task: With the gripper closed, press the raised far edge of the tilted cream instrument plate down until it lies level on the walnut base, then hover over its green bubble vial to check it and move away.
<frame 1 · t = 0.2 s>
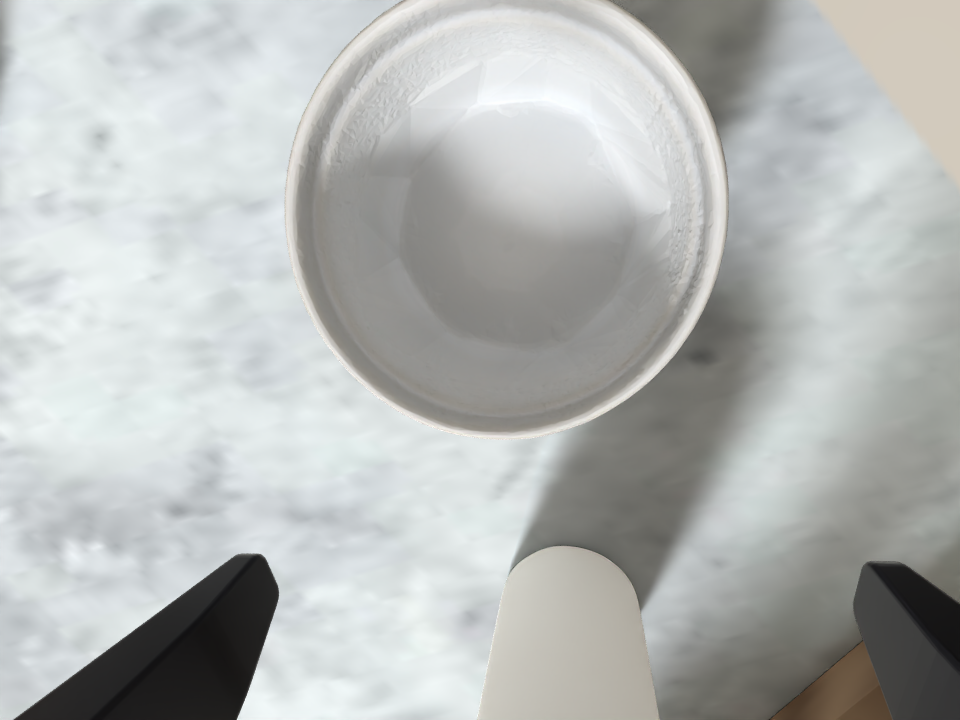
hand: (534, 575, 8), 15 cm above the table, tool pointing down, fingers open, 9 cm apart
can: (569, 597, 26), on the table
ramekin: (515, 229, 22), on the table
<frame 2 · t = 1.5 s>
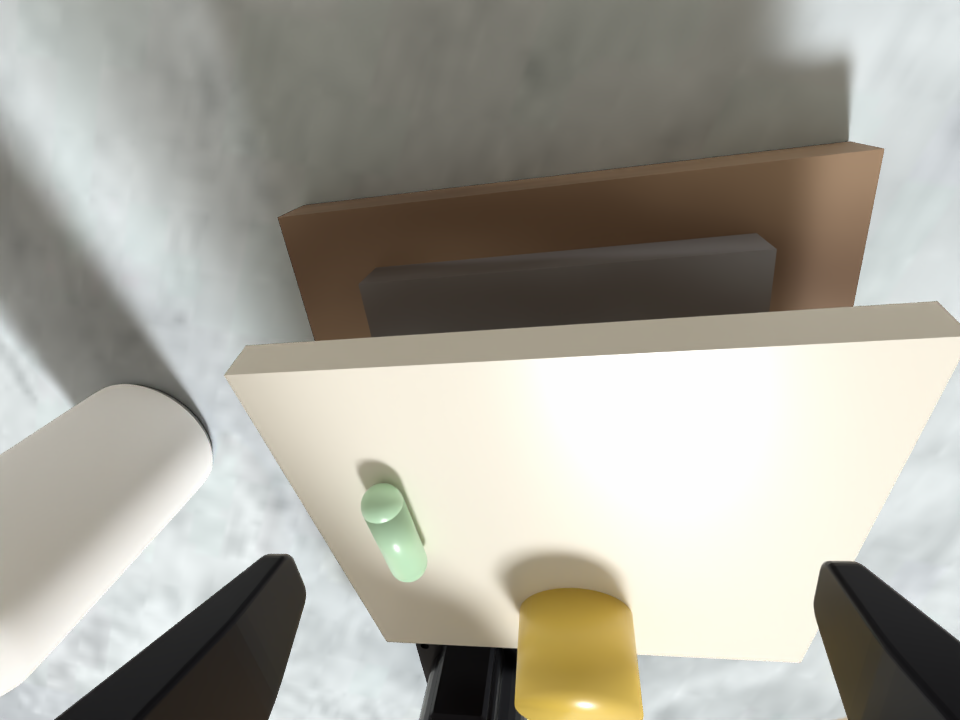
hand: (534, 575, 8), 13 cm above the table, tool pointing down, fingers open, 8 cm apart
can: (158, 433, 26), on the table
walnut base: (566, 404, 22), on the table
instrument plate: (568, 574, 15), point 8 cm above the table, hinge at -12.0°
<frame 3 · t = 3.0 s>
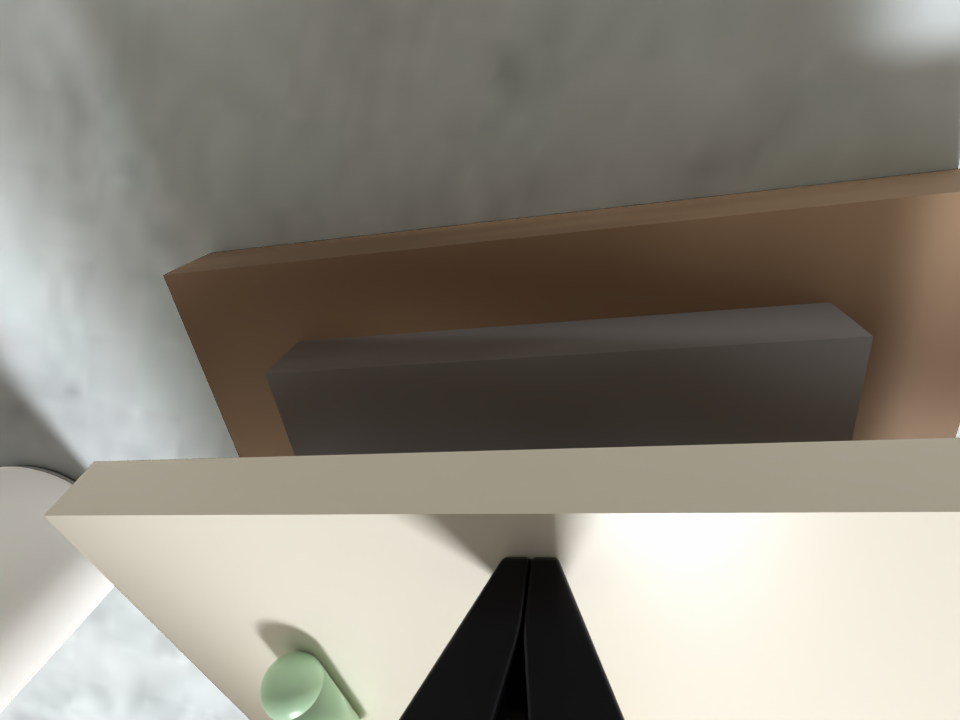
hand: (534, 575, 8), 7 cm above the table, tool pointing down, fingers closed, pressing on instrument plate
can: (64, 520, 21), on the table
walnut base: (562, 500, 17), on the table
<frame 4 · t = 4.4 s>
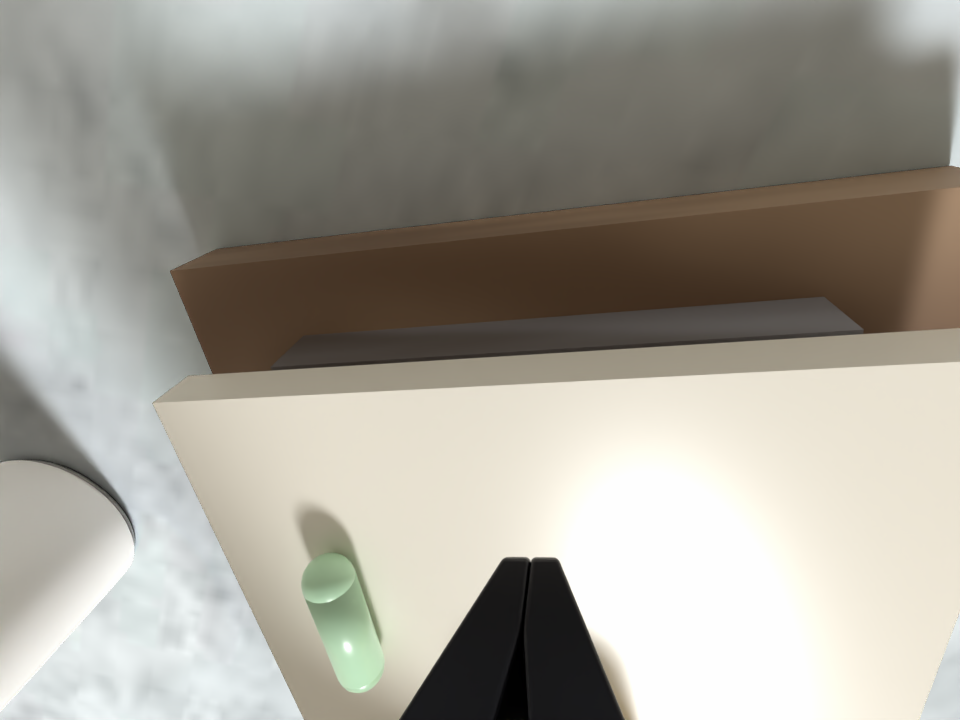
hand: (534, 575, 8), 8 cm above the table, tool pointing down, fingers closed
can: (70, 513, 22), on the table
walnut base: (561, 492, 17), on the table
instrument plate: (560, 688, 12), point 6 cm above the table, hinge at 0.4°
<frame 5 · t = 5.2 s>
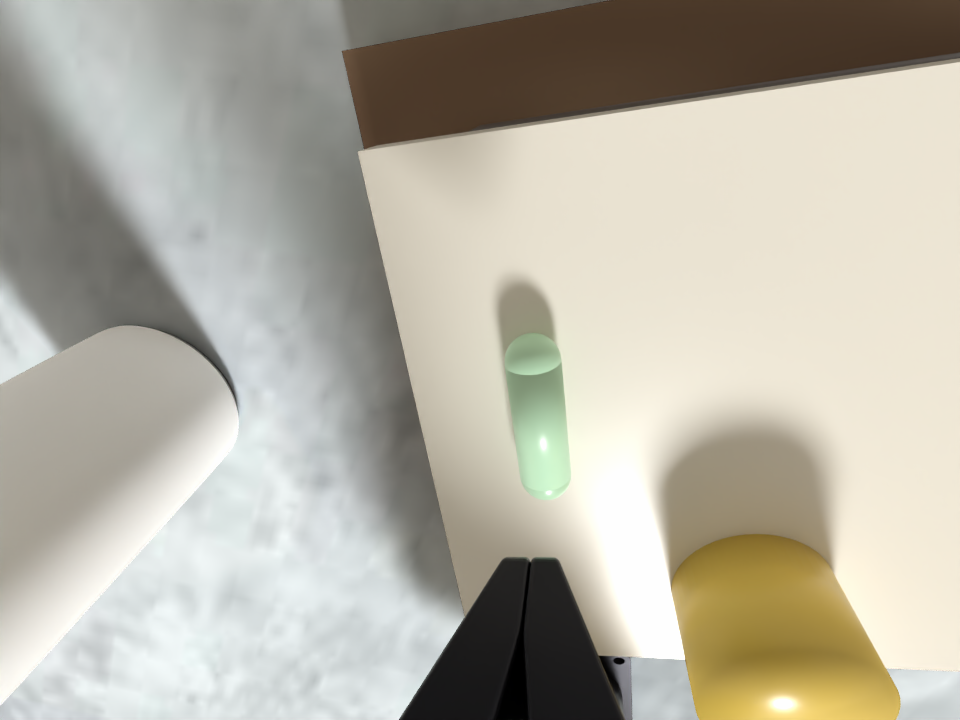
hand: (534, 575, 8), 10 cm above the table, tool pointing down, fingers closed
can: (169, 393, 21), on the table
walnut base: (712, 336, 16), on the table
instrument plate: (780, 478, 11), point 6 cm above the table, hinge at 0.4°
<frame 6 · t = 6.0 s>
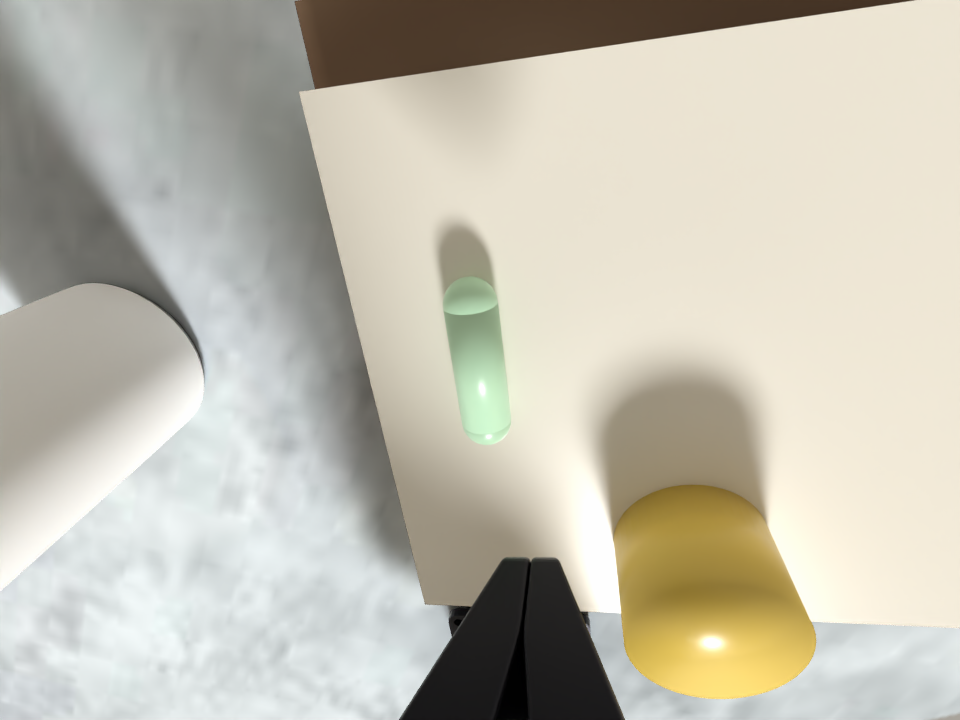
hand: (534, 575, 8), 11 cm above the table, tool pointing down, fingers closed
can: (137, 354, 21), on the table
walnut base: (664, 301, 17), on the table
instrument plate: (708, 422, 12), point 6 cm above the table, hinge at 0.4°
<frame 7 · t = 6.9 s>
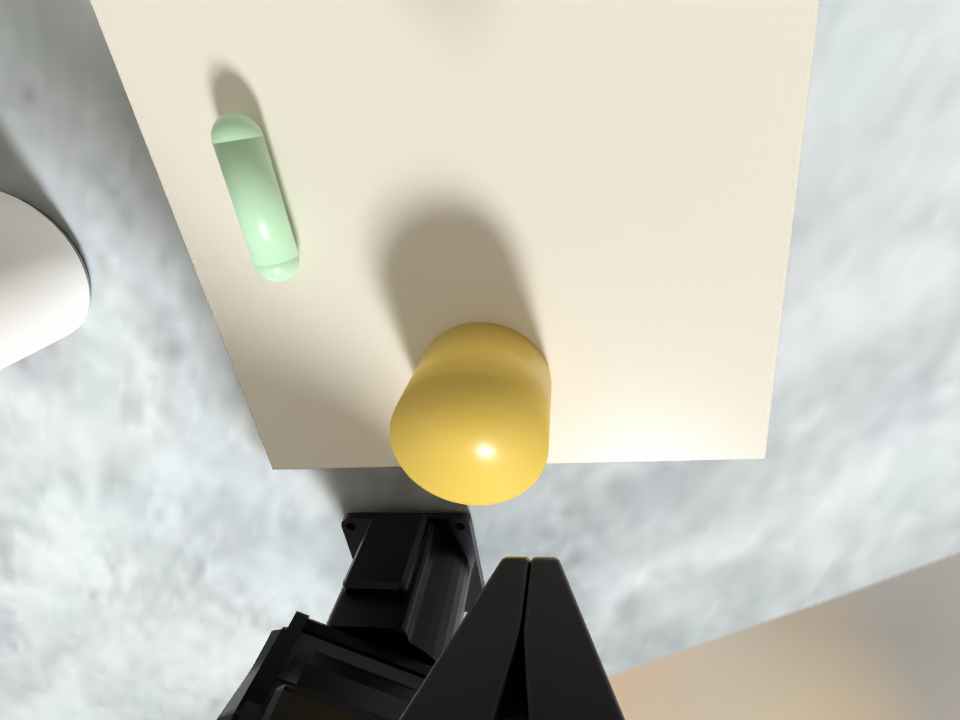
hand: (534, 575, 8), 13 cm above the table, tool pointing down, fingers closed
can: (29, 263, 22), on the table
instrument plate: (454, 243, 13), point 6 cm above the table, hinge at 0.4°
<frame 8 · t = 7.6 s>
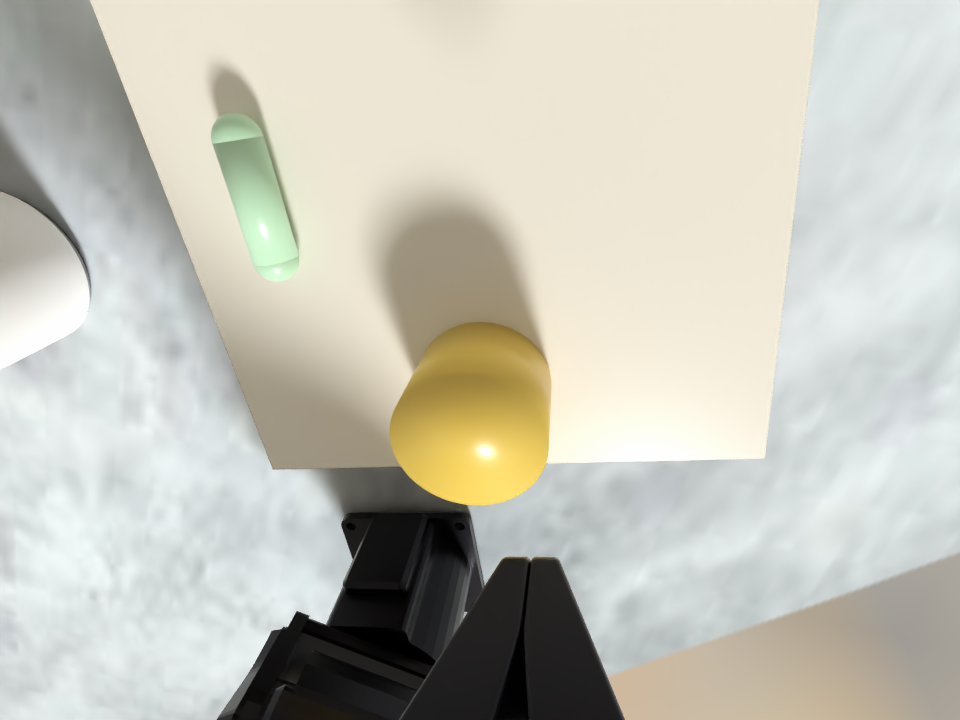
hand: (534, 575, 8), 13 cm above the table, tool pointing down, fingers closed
can: (29, 263, 22), on the table
instrument plate: (454, 243, 13), point 6 cm above the table, hinge at 0.4°
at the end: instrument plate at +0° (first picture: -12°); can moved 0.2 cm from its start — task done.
